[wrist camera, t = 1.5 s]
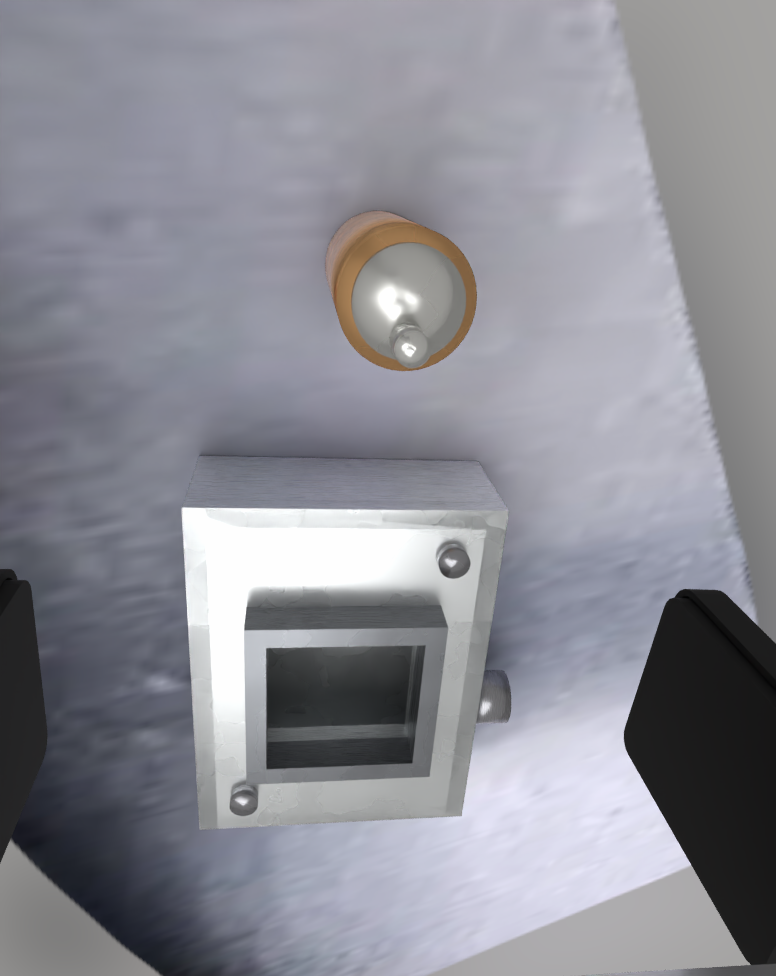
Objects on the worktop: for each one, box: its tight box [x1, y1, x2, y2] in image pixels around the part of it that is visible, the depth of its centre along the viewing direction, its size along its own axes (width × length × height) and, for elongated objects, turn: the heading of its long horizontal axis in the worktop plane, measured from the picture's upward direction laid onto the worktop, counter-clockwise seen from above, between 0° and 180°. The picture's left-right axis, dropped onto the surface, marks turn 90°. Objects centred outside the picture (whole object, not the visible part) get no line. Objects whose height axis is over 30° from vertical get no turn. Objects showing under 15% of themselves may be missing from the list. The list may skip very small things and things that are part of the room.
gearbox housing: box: [182, 456, 511, 830], centre depth 30 cm, size 16×14×6 cm
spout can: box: [325, 211, 477, 371], centre depth 23 cm, size 4×4×10 cm
